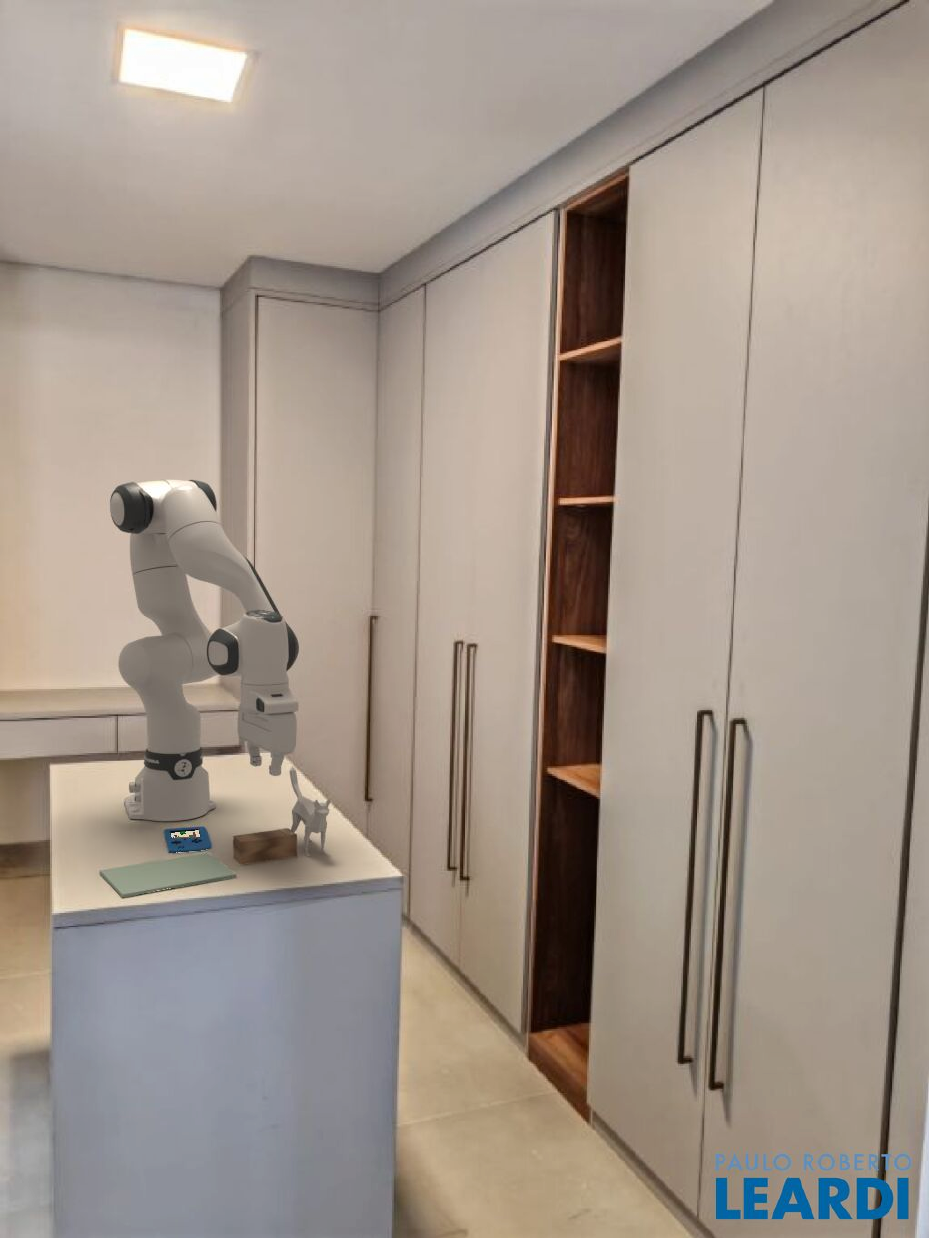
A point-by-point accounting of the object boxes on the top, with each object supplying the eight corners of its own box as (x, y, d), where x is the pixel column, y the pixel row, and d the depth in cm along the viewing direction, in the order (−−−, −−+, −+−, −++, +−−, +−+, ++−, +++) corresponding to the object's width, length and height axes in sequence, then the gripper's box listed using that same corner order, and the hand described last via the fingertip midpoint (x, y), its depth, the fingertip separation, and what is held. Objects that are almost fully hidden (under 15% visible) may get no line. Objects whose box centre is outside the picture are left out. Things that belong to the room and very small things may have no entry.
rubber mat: (99, 873, 180) (99, 870, 180) (207, 855, 192) (207, 852, 192) (122, 897, 169) (122, 894, 169) (236, 877, 180) (236, 874, 180)
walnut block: (240, 865, 187) (240, 841, 187) (232, 858, 191) (233, 834, 191) (296, 857, 193) (296, 833, 192) (288, 850, 197) (288, 827, 196)
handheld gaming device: (168, 849, 192) (163, 827, 206) (168, 855, 192) (163, 832, 206) (213, 846, 195) (205, 824, 209) (213, 851, 195) (205, 829, 209)
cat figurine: (313, 863, 189) (314, 789, 188) (280, 834, 207) (280, 766, 205) (335, 860, 191) (336, 787, 190) (300, 831, 209) (301, 764, 207)
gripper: (229, 691, 196) (229, 761, 197) (269, 706, 179) (270, 783, 180) (259, 689, 200) (260, 758, 201) (302, 703, 182) (302, 778, 183)
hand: (265, 770), depth 190 cm, fingers open, 8 cm apart
